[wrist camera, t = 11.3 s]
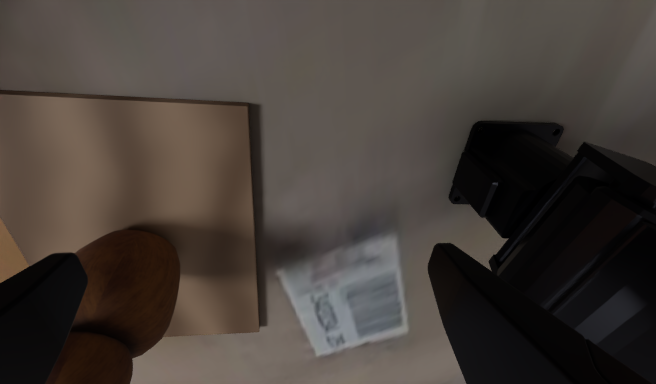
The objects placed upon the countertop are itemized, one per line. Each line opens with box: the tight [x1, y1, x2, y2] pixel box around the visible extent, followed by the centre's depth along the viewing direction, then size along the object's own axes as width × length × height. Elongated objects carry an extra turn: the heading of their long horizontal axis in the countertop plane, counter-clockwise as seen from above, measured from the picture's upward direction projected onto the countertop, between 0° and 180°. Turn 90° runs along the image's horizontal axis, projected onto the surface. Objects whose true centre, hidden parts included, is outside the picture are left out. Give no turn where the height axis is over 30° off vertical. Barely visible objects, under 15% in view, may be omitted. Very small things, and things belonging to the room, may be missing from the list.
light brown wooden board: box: [0, 90, 260, 337], centre depth 24 cm, size 16×22×2 cm
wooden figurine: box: [45, 230, 180, 384], centre depth 17 cm, size 7×6×15 cm
